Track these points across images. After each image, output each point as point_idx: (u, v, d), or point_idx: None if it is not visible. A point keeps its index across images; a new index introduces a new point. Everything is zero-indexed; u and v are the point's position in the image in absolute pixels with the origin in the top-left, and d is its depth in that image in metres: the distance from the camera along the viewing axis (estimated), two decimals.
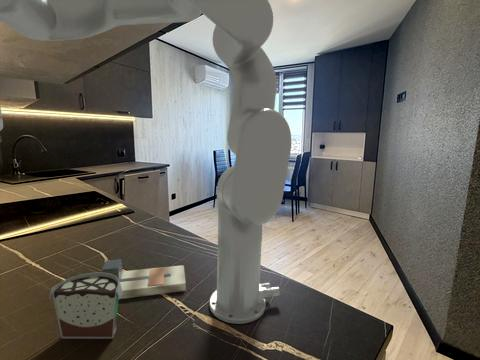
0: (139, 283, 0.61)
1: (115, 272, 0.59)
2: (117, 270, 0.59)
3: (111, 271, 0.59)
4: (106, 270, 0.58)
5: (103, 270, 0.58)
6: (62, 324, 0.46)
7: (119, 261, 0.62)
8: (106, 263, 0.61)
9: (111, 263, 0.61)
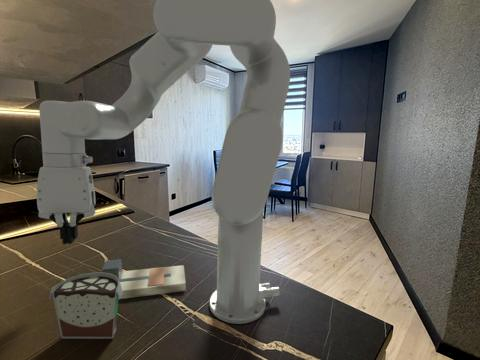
0: (139, 283, 0.61)
1: (115, 272, 0.59)
2: (117, 270, 0.59)
3: (111, 271, 0.59)
4: (106, 270, 0.58)
5: (103, 270, 0.58)
6: (62, 324, 0.46)
7: (119, 261, 0.62)
8: (106, 263, 0.61)
9: (111, 263, 0.61)
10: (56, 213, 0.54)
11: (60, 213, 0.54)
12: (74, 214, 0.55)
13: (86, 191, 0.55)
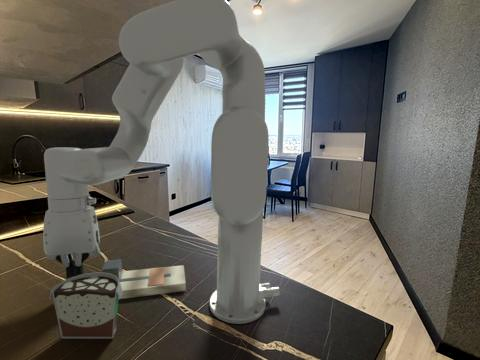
0: (139, 283, 0.61)
1: (115, 272, 0.59)
2: (117, 270, 0.59)
3: (111, 271, 0.59)
4: (106, 270, 0.58)
5: (103, 270, 0.58)
6: (62, 324, 0.46)
7: (119, 261, 0.62)
8: (106, 263, 0.61)
9: (111, 263, 0.61)
10: (62, 254, 0.56)
11: (66, 254, 0.56)
12: (79, 254, 0.57)
13: (91, 232, 0.56)
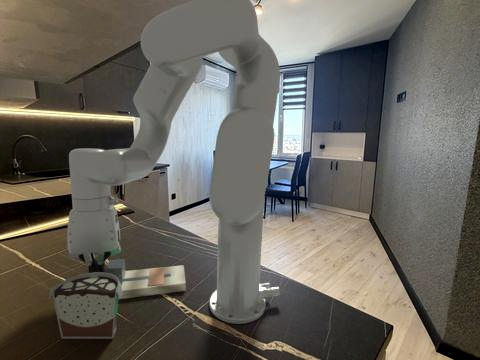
0: (139, 283, 0.61)
1: (118, 271, 0.59)
2: (120, 270, 0.59)
3: (114, 271, 0.59)
4: (109, 270, 0.58)
5: (106, 270, 0.58)
6: (62, 324, 0.46)
7: (122, 261, 0.62)
8: (109, 262, 0.61)
9: (114, 263, 0.61)
10: (85, 253, 0.57)
11: (89, 253, 0.57)
12: (102, 253, 0.58)
13: (113, 231, 0.57)
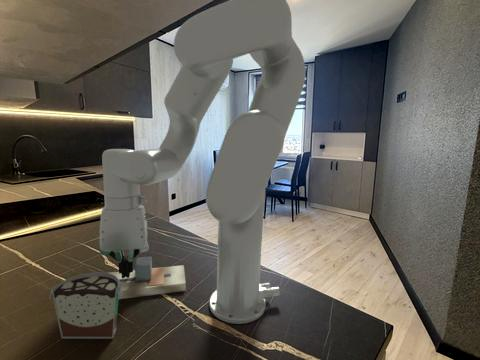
0: (139, 283, 0.61)
1: (147, 268, 0.61)
2: (149, 267, 0.61)
3: (143, 268, 0.60)
4: (138, 267, 0.60)
5: (136, 267, 0.60)
6: (62, 324, 0.46)
7: (150, 258, 0.64)
8: (137, 260, 0.63)
9: (142, 260, 0.63)
10: (116, 251, 0.59)
11: (119, 250, 0.59)
12: (132, 250, 0.60)
13: (143, 229, 0.59)
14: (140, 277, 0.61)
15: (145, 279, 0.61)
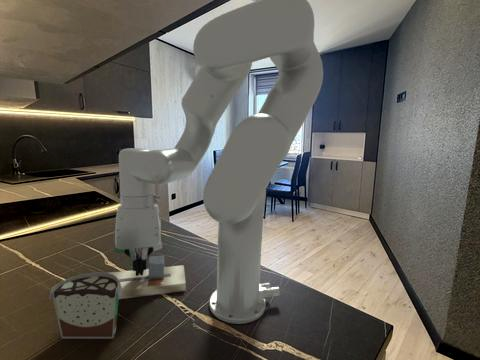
0: (139, 283, 0.61)
1: (160, 267, 0.61)
2: (162, 266, 0.62)
3: (157, 266, 0.61)
4: (152, 265, 0.61)
5: (150, 265, 0.61)
6: (62, 324, 0.46)
7: (162, 257, 0.65)
8: (150, 259, 0.64)
9: (155, 259, 0.63)
10: (131, 248, 0.60)
11: (134, 248, 0.60)
12: (146, 248, 0.61)
13: (157, 228, 0.60)
14: (154, 275, 0.61)
15: (158, 277, 0.62)
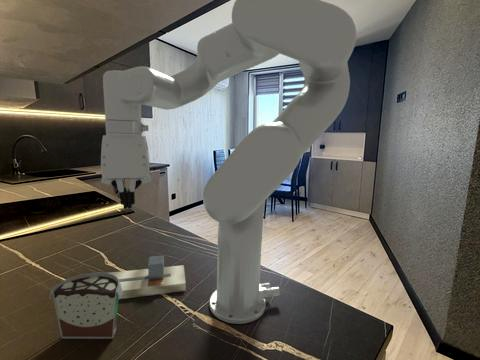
0: (139, 283, 0.61)
1: (160, 267, 0.61)
2: (162, 266, 0.62)
3: (157, 266, 0.61)
4: (152, 266, 0.61)
5: (149, 265, 0.61)
6: (62, 324, 0.46)
7: (162, 257, 0.65)
8: (150, 259, 0.64)
9: (155, 259, 0.63)
10: (118, 179, 0.58)
11: (121, 179, 0.58)
12: (134, 180, 0.59)
13: (145, 157, 0.58)
14: (153, 275, 0.61)
15: (158, 277, 0.62)
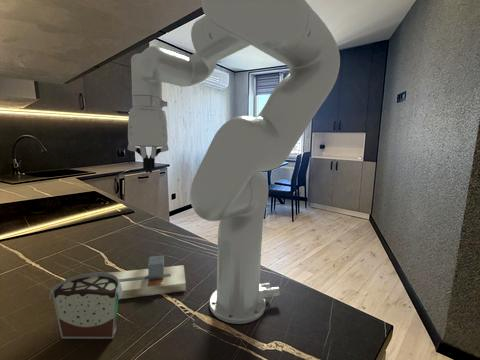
0: (139, 283, 0.61)
1: (160, 267, 0.61)
2: (162, 266, 0.62)
3: (157, 266, 0.61)
4: (152, 266, 0.61)
5: (149, 265, 0.61)
6: (62, 324, 0.46)
7: (162, 257, 0.65)
8: (150, 259, 0.64)
9: (155, 259, 0.63)
10: (141, 146, 0.68)
11: (144, 146, 0.68)
12: (154, 148, 0.69)
13: (164, 128, 0.68)
14: (153, 275, 0.61)
15: (158, 277, 0.62)
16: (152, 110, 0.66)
